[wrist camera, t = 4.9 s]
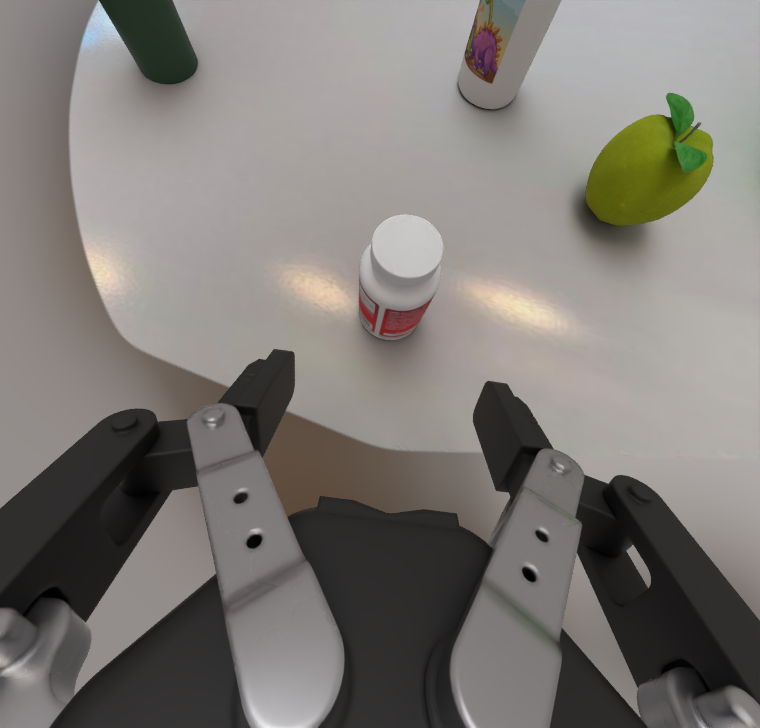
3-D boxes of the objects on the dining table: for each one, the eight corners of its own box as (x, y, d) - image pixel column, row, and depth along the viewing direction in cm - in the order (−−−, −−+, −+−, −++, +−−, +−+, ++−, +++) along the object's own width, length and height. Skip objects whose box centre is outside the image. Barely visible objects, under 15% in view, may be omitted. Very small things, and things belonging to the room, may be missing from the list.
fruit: (563, 233, 33) (649, 152, 24) (570, 168, 36) (651, 70, 26) (640, 253, 34) (756, 181, 24) (641, 188, 36) (748, 97, 26)
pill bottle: (429, 302, 30) (470, 231, 19) (402, 352, 29) (430, 306, 18) (376, 274, 30) (387, 188, 20) (346, 322, 29) (341, 258, 18)
